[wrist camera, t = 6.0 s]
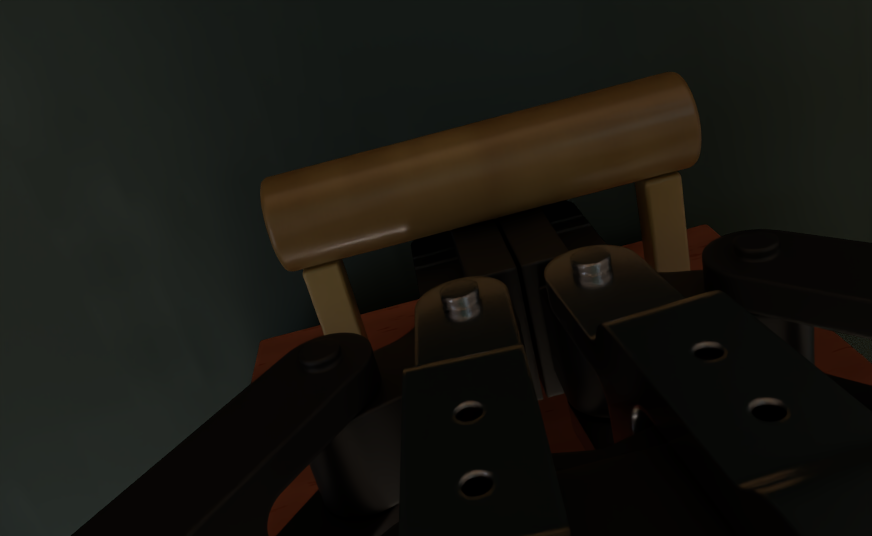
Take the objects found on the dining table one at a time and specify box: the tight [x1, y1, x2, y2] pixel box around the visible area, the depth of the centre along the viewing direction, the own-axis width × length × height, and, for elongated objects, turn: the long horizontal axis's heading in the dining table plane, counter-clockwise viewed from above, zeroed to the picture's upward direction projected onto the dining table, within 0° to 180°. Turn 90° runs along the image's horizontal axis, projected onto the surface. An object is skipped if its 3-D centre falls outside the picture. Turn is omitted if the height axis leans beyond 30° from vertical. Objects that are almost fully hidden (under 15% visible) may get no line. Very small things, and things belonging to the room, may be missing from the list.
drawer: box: [251, 72, 872, 536], centre depth 17 cm, size 20×12×8 cm, turn 13°
